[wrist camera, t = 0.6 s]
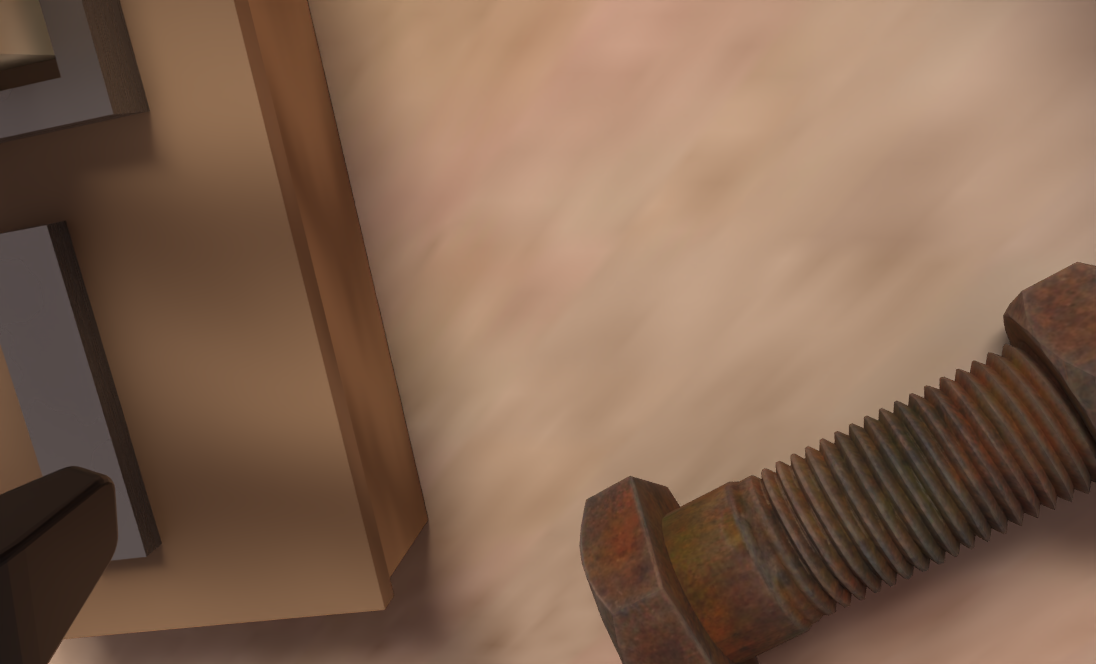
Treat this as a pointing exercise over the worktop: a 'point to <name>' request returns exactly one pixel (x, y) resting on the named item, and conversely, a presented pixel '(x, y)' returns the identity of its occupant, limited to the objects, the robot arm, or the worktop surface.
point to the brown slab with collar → (199, 315)
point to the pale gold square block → (23, 34)
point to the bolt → (854, 499)
